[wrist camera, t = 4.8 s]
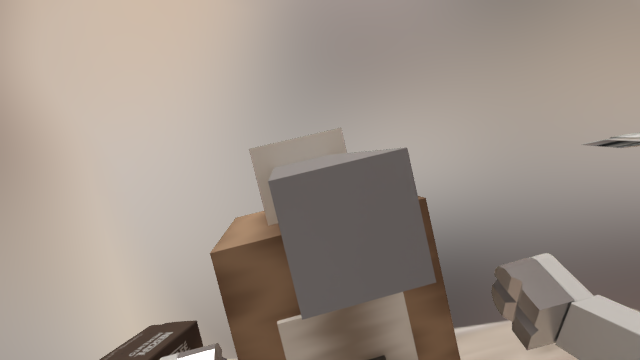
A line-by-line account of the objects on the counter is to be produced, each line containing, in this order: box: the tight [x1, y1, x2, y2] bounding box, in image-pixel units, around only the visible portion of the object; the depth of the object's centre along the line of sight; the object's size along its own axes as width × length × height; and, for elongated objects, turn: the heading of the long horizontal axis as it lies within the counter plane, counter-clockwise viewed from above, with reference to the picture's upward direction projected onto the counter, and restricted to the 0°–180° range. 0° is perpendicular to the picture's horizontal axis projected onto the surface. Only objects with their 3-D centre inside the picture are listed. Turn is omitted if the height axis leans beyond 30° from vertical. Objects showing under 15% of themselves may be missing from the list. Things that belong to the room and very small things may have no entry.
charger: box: [249, 128, 436, 320], centre depth 20 cm, size 6×21×5 cm, turn 6°
